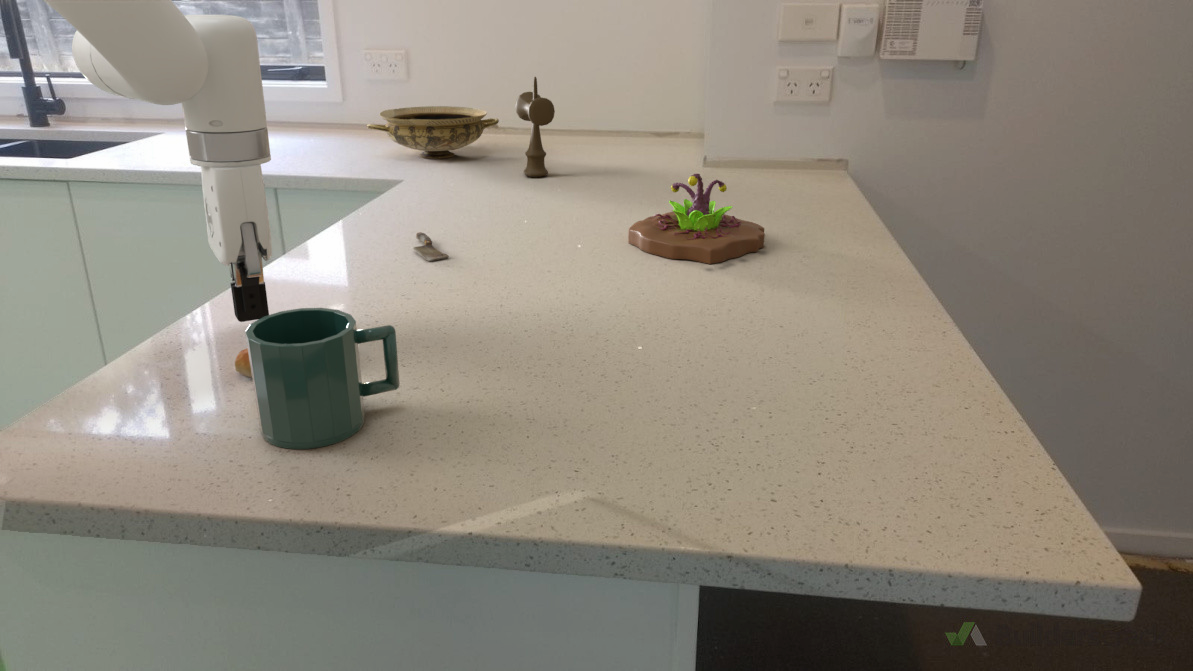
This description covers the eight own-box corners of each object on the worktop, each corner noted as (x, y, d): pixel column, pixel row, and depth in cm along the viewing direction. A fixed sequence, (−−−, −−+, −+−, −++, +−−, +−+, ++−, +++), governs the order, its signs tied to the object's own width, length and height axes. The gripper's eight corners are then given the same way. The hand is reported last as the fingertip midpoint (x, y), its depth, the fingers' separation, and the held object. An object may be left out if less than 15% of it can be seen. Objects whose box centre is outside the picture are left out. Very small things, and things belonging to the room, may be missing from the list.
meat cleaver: (413, 263, 119) (449, 263, 120) (413, 256, 119) (449, 255, 120) (411, 238, 129) (444, 238, 131) (411, 231, 129) (444, 230, 130)
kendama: (542, 170, 181) (542, 74, 173) (556, 179, 172) (556, 78, 165) (515, 172, 179) (514, 74, 171) (528, 181, 170) (527, 79, 163)
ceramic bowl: (488, 144, 209) (486, 103, 205) (512, 162, 189) (511, 116, 185) (364, 149, 200) (360, 106, 196) (375, 169, 179) (371, 121, 175)
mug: (271, 458, 69) (255, 353, 66) (253, 414, 77) (238, 317, 73) (416, 425, 75) (409, 327, 72) (387, 387, 82) (379, 296, 79)
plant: (606, 245, 129) (608, 172, 125) (672, 220, 144) (675, 154, 139) (722, 270, 118) (728, 192, 114) (780, 241, 133) (787, 170, 129)
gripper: (178, 137, 88) (204, 302, 95) (200, 161, 76) (227, 347, 83) (253, 133, 92) (273, 292, 99) (285, 156, 80) (305, 334, 87)
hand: (252, 317), depth 91 cm, fingers closed
